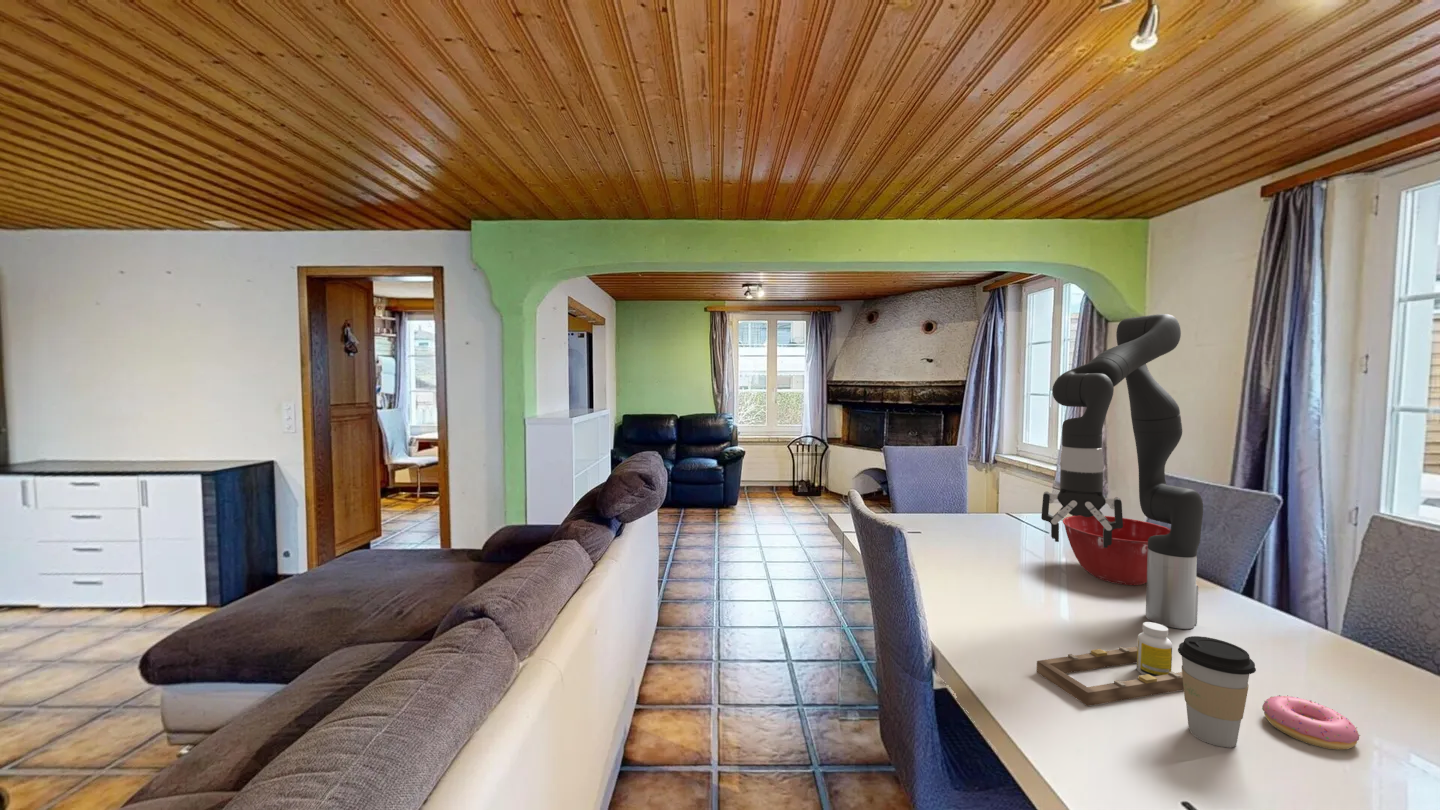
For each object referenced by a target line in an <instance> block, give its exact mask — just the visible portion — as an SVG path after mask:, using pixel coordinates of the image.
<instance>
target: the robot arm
mask: <svg viewBox="0 0 1440 810" xmlns="http://www.w3.org/2000/svg"><path fill="white" fill-rule="evenodd" d="M1115 332H1116V335H1115V336H1116V345H1115V346H1114V347H1113V346H1112V347H1110V348H1108V349H1106V350H1104V351H1102V352H1101V353H1100V354H1098V355H1096V357H1094V358H1093V359H1092V360H1090V361H1089V362H1087V363H1085V364H1083V365H1079V366H1077V367H1075V368H1072V369H1069V370H1068V371H1064V373H1061V375H1060V376H1059V377H1057V378H1056V379H1055V381H1054V382H1053V384H1052V385H1053V386H1052V397H1053V399H1054V400H1055V402H1056V403H1058V404H1059V405H1061V406H1063V407H1064V406H1065V407H1072V408H1073V407H1075V408H1086V409H1085V412H1084V413H1083V414H1082V416H1079V417H1073V418H1067V419H1065V420H1064V421H1063V423H1062V427H1061V430H1062V431H1061V450H1060V458H1059V459H1060V462H1059V466H1060V467H1059V469H1060V471H1059V476H1060V477H1059V479H1060V480H1059V482H1060V483H1059V489H1060V490H1059V492H1058V494H1057V493H1053V492H1052V493H1051V492H1049V491H1044V492H1043V494H1042V506H1041V515H1040V516H1041V520H1042V521H1046V522H1048V523H1049V524H1050V525H1051V527H1050V531H1051V532H1050V537H1051V539H1054V542H1055V543H1059V542H1060V523H1059V522H1060V521H1061V520H1062V519H1064V518H1066V517H1067V515H1068V514H1069V515H1070V516H1084V517H1091V516H1095V518H1096V519H1097V520H1098V521H1099V522H1100V523H1101V524H1102V525H1103V527H1104V528H1103V548H1108V545H1110V546H1111V544H1112V530H1114V529H1118V528H1119V529H1121V528H1123V518H1124V517H1123V503H1122V500H1121V498H1120V497H1117V496H1116V497H1114V498H1112V497H1111V498H1109V497H1106V498H1105V496H1104V468H1105V467H1104V454H1103V428H1104V425H1105V424H1104V423H1105V421H1106V417H1107V413H1108V410H1109V407H1110V404H1111V403H1112V400H1113V396H1114V387H1116V386H1117V385H1118V384H1119V383H1121V382H1122V381H1123V380H1124V379H1125V382H1126V387H1127V392H1128V400H1129V408H1130V409H1129V410H1130V417H1131V425H1132V431H1133V436H1134V441H1135V447H1136V448H1135V449H1136V455H1137V456H1136V457H1137V464H1138V465H1137V466H1138V467H1137V468H1138V494H1139V495H1138V496H1139V497H1138V498H1139V499H1138V500H1139V504H1140V508H1141V511H1142V513H1143V514H1144V516H1145V517H1146V518H1147V519H1149V520H1153V521H1156V522H1160V523H1165V524H1169V525H1170V528H1169V529H1170V533H1169V534H1166V535H1155V536H1151V537H1149V539H1148V550H1147V583H1146V589H1145V591H1146V592H1145V593H1146V594H1145V617H1146V618H1147V620H1150V621H1152V623H1157V624H1161V625H1163V626H1165V627H1167V628H1174V629H1181V630H1182V629H1183V630H1189V629H1191V630H1192V629H1194V628H1195V625H1197V624H1198V609H1199V608H1198V606H1199V605H1198V604H1199V603H1198V602H1199V585H1197V566H1198V565H1197V562H1198V560H1197V559H1198V558H1197V557H1198V556H1197V555H1198V548H1199V546H1200V542H1201V537H1202V535H1201V534H1202V527H1203V524H1202V523H1203V517H1204V503H1203V498H1202V496H1201V495H1200V493H1199V492H1198V491H1196V490H1194V489H1192V488H1188V487H1187V488H1186V487H1181V486H1175V485H1169V484H1168V483H1167V482H1166V475H1165V471H1166V469H1165V468H1166V463H1167V461H1168V459H1169V458H1170V456H1171V454H1172V453H1173V451H1174V450H1175V449H1176V447H1177V446H1178V444H1179V443H1180V441H1181V438H1182V436H1183V424H1182V417H1181V411H1180V407H1179V404H1178V403H1177V401H1176V400H1175V399H1174V397H1172V395H1171V394H1170V393H1169V392H1168V391H1167V390H1166V389H1165V387H1163V386H1162V385H1161V384H1160V383H1159V381H1157V380H1156V379H1155V378H1154V377H1153V375H1152V374H1151V372H1150V370H1149V368H1148V366H1147V364H1148V363H1149V362H1152V361H1154V360H1156V359H1157V358H1159V357H1161V356H1164V355H1166V354H1168V353H1170V352H1172V351H1173V350H1175V349H1176V348H1177V346H1178V345H1179V343H1180V340H1181V337H1182V335H1181V334H1182V331H1181V325H1180V322H1179V321H1178V319H1177V317H1175V316H1174V315H1172V314H1168V313H1158V314H1157V313H1156V314H1151V315H1149V314H1148V315H1144V316H1143V315H1142V316H1136V317H1128V318H1124V319H1122V320H1121V321H1120V322H1119V323H1118V324H1117V328H1116V331H1115ZM1055 500H1058V502H1059V503H1060V505H1061V506H1062V507H1060V508H1059V510H1057V512H1056V513H1055V514H1054V515H1052V514H1049V510H1050V504H1053V503H1054V502H1055ZM1105 505H1108V506H1109V509H1111V510H1113V512H1114V517H1115V521H1113V522H1109V521H1108V520H1107V519H1106V517H1105V516H1106V515H1104V514H1103V512H1102V511H1101V509H1102V508H1103V507H1104V506H1105Z"/></svg>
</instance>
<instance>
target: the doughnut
mask: <svg viewBox="0 0 1440 810" xmlns="http://www.w3.org/2000/svg"><path fill="white" fill-rule="evenodd" d="M1261 710H1262V711H1263V715H1264V717H1265V718H1266V720H1267V721H1268V722H1269V723H1270V725H1271V726H1273V727H1275V728H1276V729H1277V730H1278V731H1280V732H1282V733H1283V734H1285V735H1287V736H1289V737H1291V738H1293V739H1296V740H1298V741H1300V742H1302V741H1303V743H1306V744H1308V745H1312V746H1315V747H1318V748H1323V749H1329V750H1336V751H1337V750H1338V751H1339V750H1349V749H1351V748H1353V747H1354V746H1356V745H1357V743H1358V742H1359V740H1360V736H1361V734H1359V732H1358V730H1357V729H1358V727H1357V726H1355V725H1354V724H1353V722H1351V720H1350V719H1349V718H1347V717H1346V716H1344V715H1343V714H1342V713H1339V712H1338V711H1336V710H1335V709H1332V708H1330V707H1327V706H1325V705H1322V704H1320V703H1319V702H1318V703H1317V702H1316V701H1312V700H1308V699H1304V698H1301V697H1297V696H1296V697H1295V696H1289V695H1280V694H1279V695H1275V696H1270V697H1269V698H1267V699H1266V700H1264V702H1263V704H1262V708H1261Z"/></svg>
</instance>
